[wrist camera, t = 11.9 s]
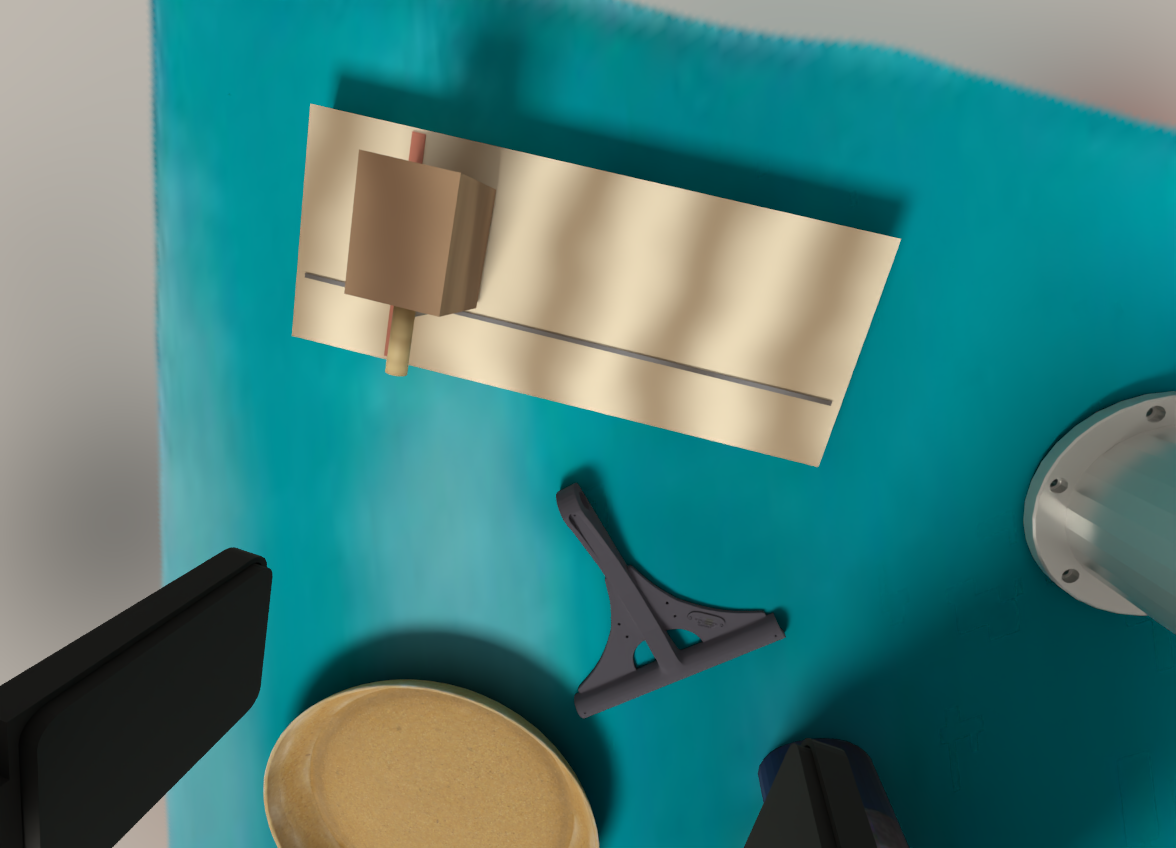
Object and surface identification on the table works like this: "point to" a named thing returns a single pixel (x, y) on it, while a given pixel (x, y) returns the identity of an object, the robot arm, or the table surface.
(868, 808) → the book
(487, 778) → the plant saucer
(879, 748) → the table surface
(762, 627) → the bracket
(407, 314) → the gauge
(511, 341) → the board
